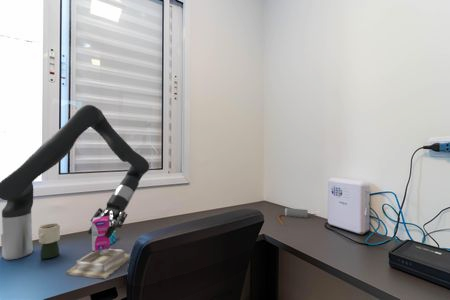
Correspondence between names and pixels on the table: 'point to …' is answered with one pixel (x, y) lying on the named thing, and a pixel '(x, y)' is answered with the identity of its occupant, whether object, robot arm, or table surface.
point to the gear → (112, 237)
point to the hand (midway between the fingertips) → (98, 235)
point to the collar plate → (99, 263)
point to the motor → (295, 213)
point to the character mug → (49, 239)
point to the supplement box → (100, 233)
